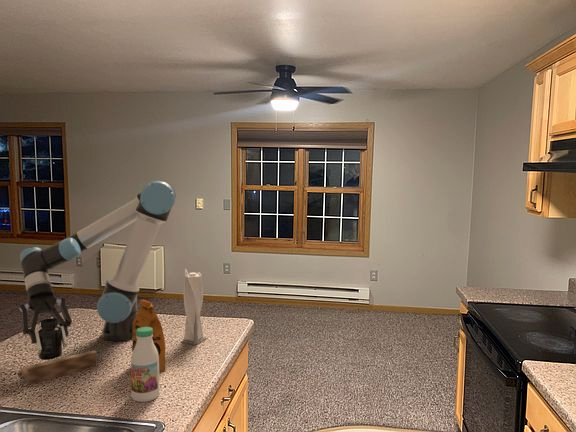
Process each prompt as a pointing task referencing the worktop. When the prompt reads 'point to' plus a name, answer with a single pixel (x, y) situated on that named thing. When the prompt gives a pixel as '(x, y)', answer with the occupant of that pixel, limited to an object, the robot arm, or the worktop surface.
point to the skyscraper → (193, 308)
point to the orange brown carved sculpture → (150, 319)
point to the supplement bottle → (50, 339)
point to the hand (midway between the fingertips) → (52, 348)
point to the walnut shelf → (59, 367)
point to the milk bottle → (144, 367)
